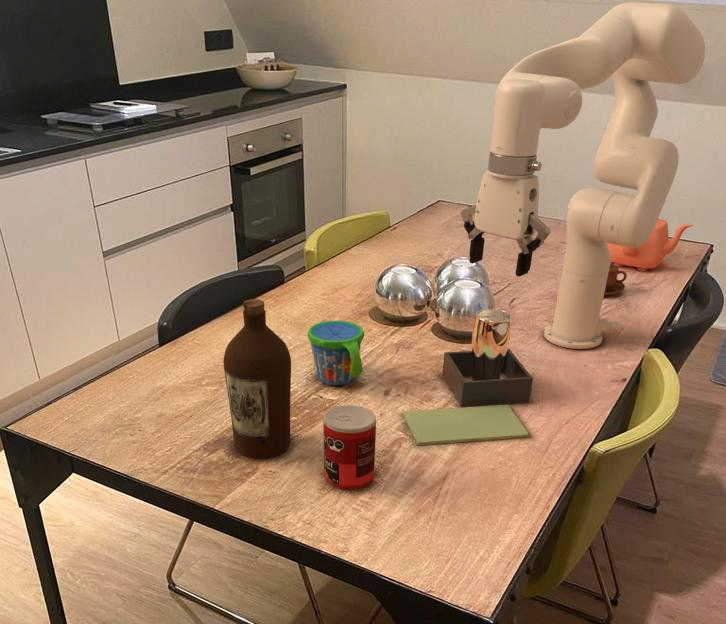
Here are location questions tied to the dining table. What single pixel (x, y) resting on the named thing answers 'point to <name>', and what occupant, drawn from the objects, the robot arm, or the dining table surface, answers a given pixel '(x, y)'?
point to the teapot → (647, 248)
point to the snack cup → (336, 351)
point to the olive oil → (258, 386)
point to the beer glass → (490, 343)
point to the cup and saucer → (614, 281)
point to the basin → (486, 381)
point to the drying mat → (464, 424)
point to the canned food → (349, 446)
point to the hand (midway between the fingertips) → (498, 268)
